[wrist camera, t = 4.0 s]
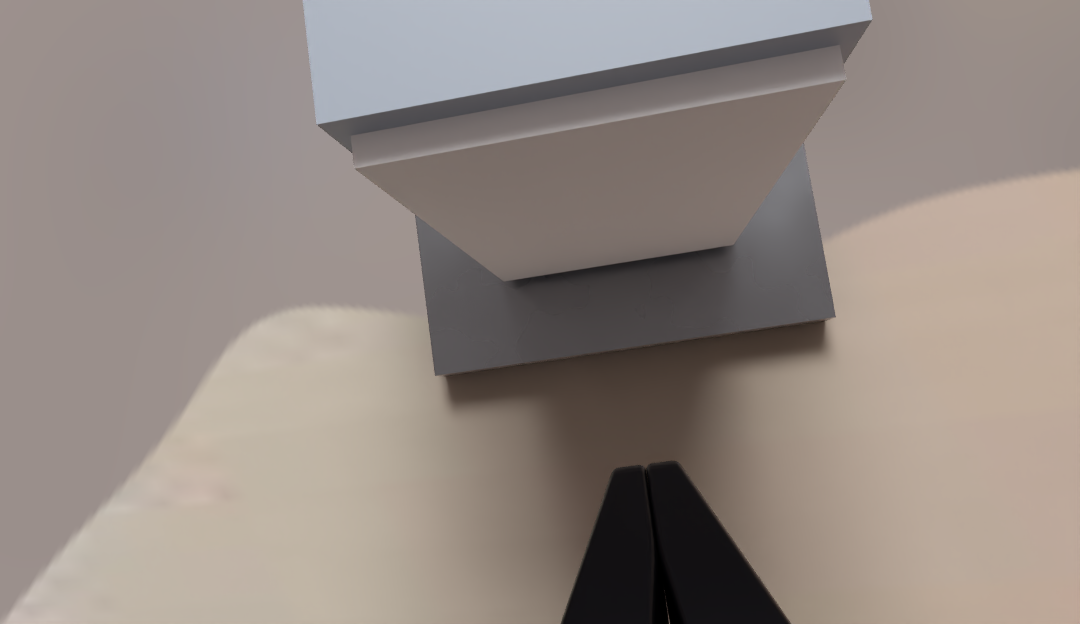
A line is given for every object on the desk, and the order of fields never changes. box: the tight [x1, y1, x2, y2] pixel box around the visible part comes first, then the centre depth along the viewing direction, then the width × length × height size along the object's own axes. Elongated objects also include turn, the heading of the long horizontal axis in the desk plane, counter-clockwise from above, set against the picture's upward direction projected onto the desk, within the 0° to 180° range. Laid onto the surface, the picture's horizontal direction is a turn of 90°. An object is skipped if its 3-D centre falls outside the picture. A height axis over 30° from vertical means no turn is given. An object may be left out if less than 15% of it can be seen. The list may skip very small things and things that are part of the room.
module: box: [303, 0, 872, 281], centre depth 14 cm, size 7×6×11 cm
